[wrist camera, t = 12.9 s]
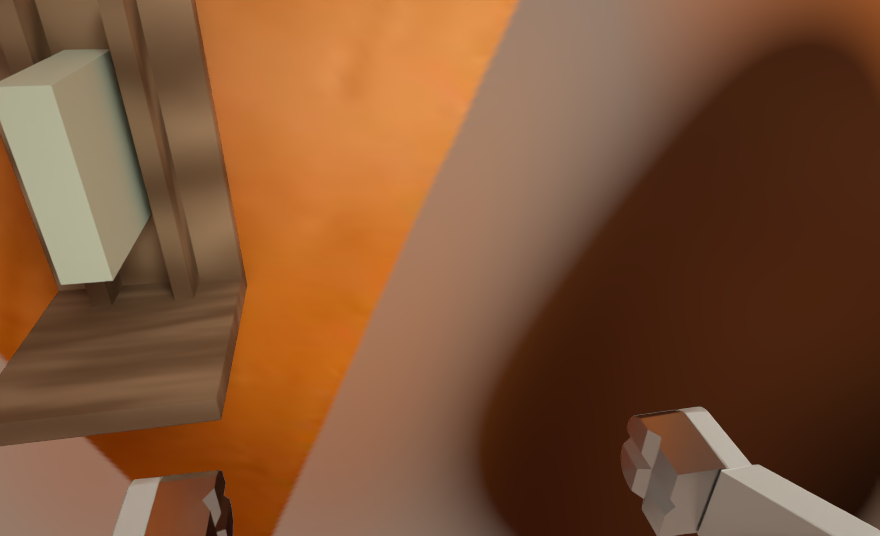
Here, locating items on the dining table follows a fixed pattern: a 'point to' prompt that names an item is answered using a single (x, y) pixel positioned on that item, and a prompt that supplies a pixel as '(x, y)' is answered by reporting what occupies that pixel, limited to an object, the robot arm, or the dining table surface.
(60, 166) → the door panel
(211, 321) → the track board
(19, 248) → the dining table surface
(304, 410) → the dining table surface
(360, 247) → the dining table surface
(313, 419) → the dining table surface
